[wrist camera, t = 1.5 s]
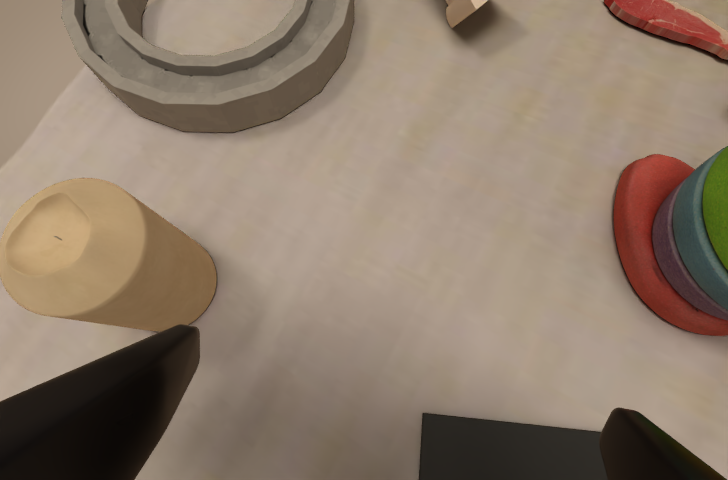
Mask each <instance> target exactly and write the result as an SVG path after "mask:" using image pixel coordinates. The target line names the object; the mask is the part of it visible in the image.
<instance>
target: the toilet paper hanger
mask: <svg viewBox="0 0 728 480" xmlns="http://www.w3.org/2000/svg"><path fill="white" fill-rule="evenodd" d="M487 1H488V0H446V2H447V4H448V5H449V6H448V7H447V8H446V17H447V21H448V23H449V25H450V26H451V28H453V27H454V26H455V25H457V24H458V23H459V22H461V21H462V20H463V19H465V18H466V17H467V16H469V15H470V14H471V13H473V12H474V11H475V10H477V9H478V8H479V7H480V6H482V5H483V4H484V3H485V2H487Z"/></svg>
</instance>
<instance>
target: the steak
mask: <svg viewBox="0 0 728 480" xmlns="http://www.w3.org/2000/svg"><path fill="white" fill-rule="evenodd" d="M604 3H605V4H606V5H607V6H608V7H609V9H610V11H611V12H612V13H613V14H615V15H616V16H617V17H619V18H620V19H622V20H624V21H625V22H627V23H629V24H631V25H634V26H637V27H639V28H642V29H644V30H646V31H648V32H651V33H653V34H657V35H660V36H664V37H666V38H669V39H672V40H675V41H679V42H683V43H688V44H691V45H694V46H696V47H699V48H702V49H704V50H707V51H709V52H711V53H714V54H716V55H718V56H719V57H720V58H722V59H727V60H728V31H727V30H725V29H723V28H721V27H719V26H718V25H716V24H715V23H713V22H712V21H710V20H709V19H707V18H706V17H704V16H703V15H701V14H699V13H697V12H695V11H691V10H688V9H686V8H684V7H682V6H681V5H680V4H678V3H676V2H673V1H669V0H605V1H604Z"/></svg>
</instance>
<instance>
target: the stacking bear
mask: <svg viewBox="0 0 728 480" xmlns="http://www.w3.org/2000/svg"><path fill="white" fill-rule="evenodd" d="M614 230H615V237H616V243H617V248H618V251H619V255H620V258H621V261H622V264H623V267H624V269H625V272H626V274H627V276H628V278H629V280H630V283H631V284H632V286H633V288H634V290H635V291H636V292H637V294H638V295H639V296H640V297H641V299H642V300H643V301H644V302H645V303H646V304H647V305H648V306H649V307H650V308H651V309H652V310H653V311H654V312H655V313H657V314H658V315H659V316H661V317H662V318H664V319H665V320H667V321H668V322H670V323H672V324H674V325H676V326H678V327H680V328H682V329H685V330H688V331H691V332H694V333H698V334H703V335H714V336H724V335H728V146H727V147H725V148H723V149H722V150H720V151H719V152H717V153H716V154H715V155H713V156H712V157H711V158H709V159H708V160H707V161H705V162H704V163H703V164H701V165H700V166H699V167H698V168H697V169H696V170H695V169H693V168H692V167H690V166H689V165H687V164H686V163H684V162H682V161H681V160H678V159H676V158H673V157H669V156H665V155H660V154H653V155H650V156H647V157H645V158H643V159H639V160H636V161H634V162H633V163H631V164H629V165H628V166H627V167H626V169H625V170H624V171H623V173H622V175H621V178H620V181H619V184H618V188H617V192H616V198H615V205H614Z"/></svg>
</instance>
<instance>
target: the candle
mask: <svg viewBox="0 0 728 480" xmlns="http://www.w3.org/2000/svg"><path fill="white" fill-rule="evenodd" d="M0 277H1V280H2V283H3V285H4V287H5V289H6V291H7V292H8V293H9V295H10V296H11V297H12V298H13V299H14V300H15V301H16V302H17V303H18V304H19V305H21V306H22V307H24V308H25V309H27V310H29V311H31V312H34V313H37V314H40V315H44V316H51V317H58V318H65V319H72V320H79V321H86V322H93V323H100V324H107V325H114V326H121V327H128V328H135V329H142V330H150V331H164V330H166V329H169V328H171V327H173V326H176V325H178V324H184V325H188V324H190V323H191V322H193V321H194V320H196V319H197V318H198V317H199V316H200V315H201V314H202V313H203V312H204V311H205V310H206V309H207V307H208V306H209V304H210V302H211V300H212V298H213V296H214V293H215V289H216V282H217V276H216V269H215V266H214V263H213V261H212V259H211V257H210V256H209V254H208V253H207V251H206V250H205V249H204V248H203V247H202V246H200V245H199V244H198V243H197V242H195V241H194V240H193V239H191V238H190V237H189V236H187V235H186V234H184V233H183V232H182V231H180V230H179V229H178V228H176V227H175V226H173V225H172V224H171V223H169V222H168V221H166V220H165V219H164V218H162V217H161V216H160V215H158V214H157V213H155V212H154V211H153V210H151V209H150V208H149V207H147V206H146V205H144V204H143V203H142V202H140V201H139V200H137V199H136V198H135V197H133V196H132V195H131V194H129V193H128V192H126V191H125V190H124V189H122V188H120V187H119V186H117V185H115V184H113V183H110V182H108V181H104V180H100V179H93V178H78V179H71V180H67V181H63V182H60V183H57V184H54V185H52V186H50V187H48V188H45V189H44V190H42V191H40V192H39V193H37V194H36V195H34V196H33V197H32V198H30V199H29V200H28V201H26V202H25V203H24V204H23V205H22V206H21V207H20V208H19V209H18V210H17V212H16V213H15V214H14V215H13V217H12V218H11V220H10V221H9V223H8V225H7V227H6V228H5V231H4V233H3V236H2V238H1V242H0Z"/></svg>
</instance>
